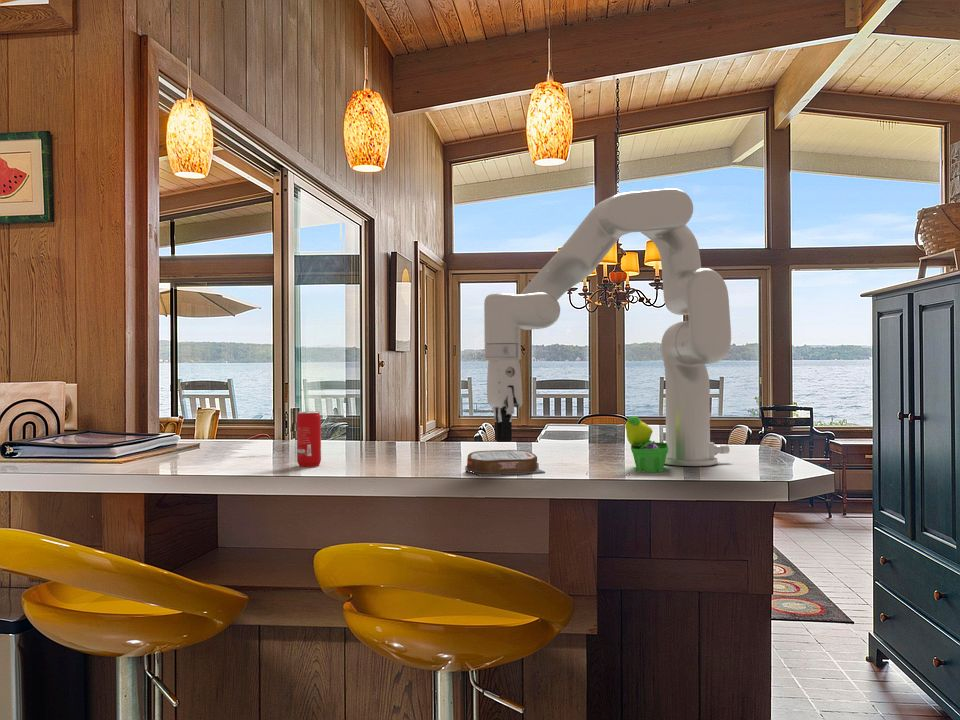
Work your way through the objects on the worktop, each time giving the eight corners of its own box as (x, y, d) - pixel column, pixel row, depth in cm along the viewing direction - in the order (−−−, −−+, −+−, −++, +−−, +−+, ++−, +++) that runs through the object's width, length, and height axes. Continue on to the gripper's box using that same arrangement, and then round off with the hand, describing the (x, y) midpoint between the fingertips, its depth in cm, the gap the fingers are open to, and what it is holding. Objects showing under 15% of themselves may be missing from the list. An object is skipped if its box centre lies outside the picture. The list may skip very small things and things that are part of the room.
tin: (462, 462, 163) (472, 477, 155) (462, 448, 162) (473, 462, 154) (529, 460, 167) (542, 474, 159) (530, 446, 166) (544, 459, 158)
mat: (537, 468, 166) (537, 462, 166) (549, 472, 159) (549, 466, 159) (465, 471, 161) (465, 466, 161) (474, 476, 154) (474, 470, 154)
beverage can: (293, 465, 172) (293, 412, 172) (315, 463, 175) (314, 411, 175) (303, 468, 168) (302, 413, 168) (325, 466, 171) (324, 412, 171)
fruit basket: (669, 473, 157) (668, 418, 157) (625, 472, 159) (624, 417, 159) (667, 466, 168) (666, 414, 168) (625, 465, 170) (625, 414, 170)
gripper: (532, 352, 155) (532, 444, 155) (508, 353, 169) (508, 437, 169) (496, 352, 153) (497, 445, 152) (475, 353, 167) (475, 438, 167)
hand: (503, 441), depth 161 cm, fingers closed
